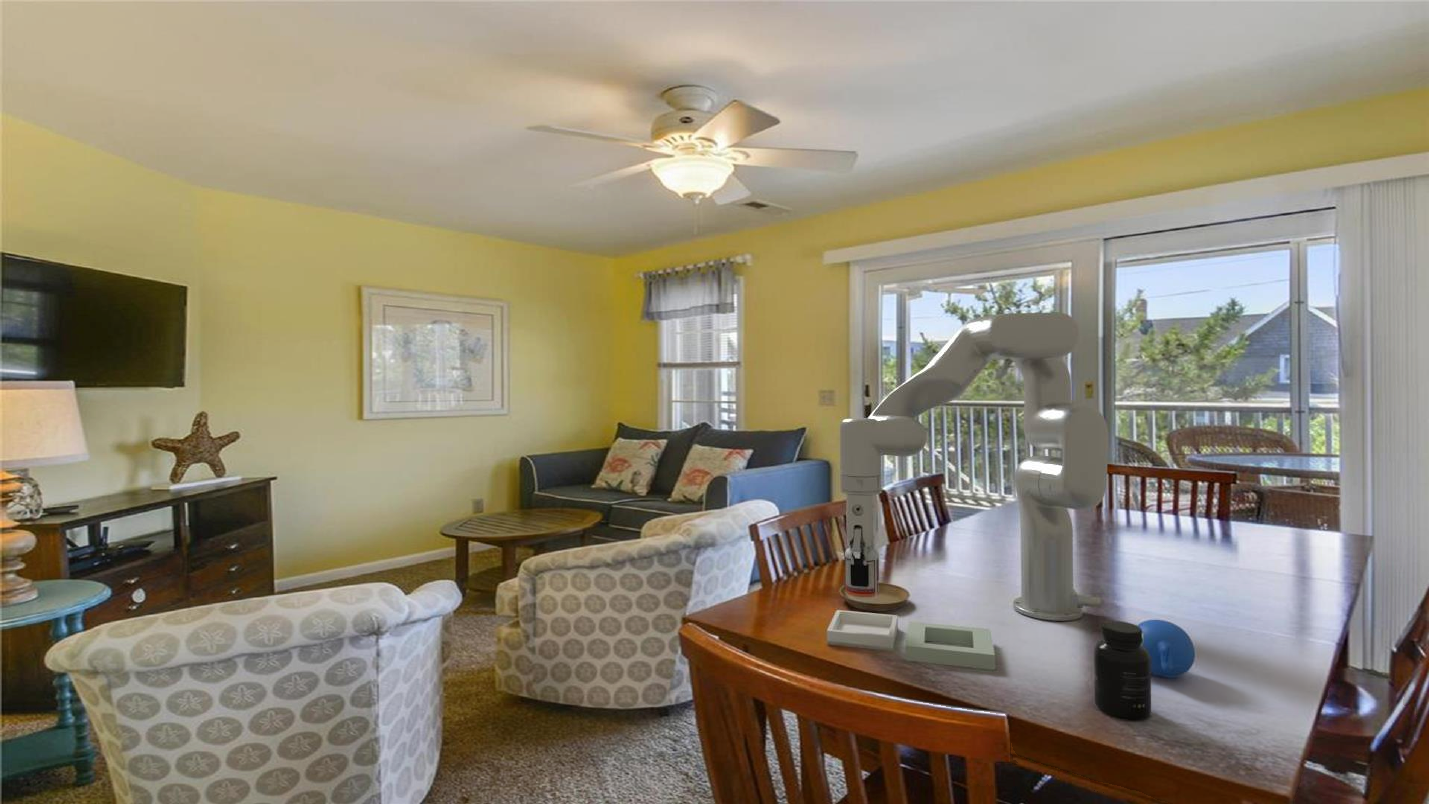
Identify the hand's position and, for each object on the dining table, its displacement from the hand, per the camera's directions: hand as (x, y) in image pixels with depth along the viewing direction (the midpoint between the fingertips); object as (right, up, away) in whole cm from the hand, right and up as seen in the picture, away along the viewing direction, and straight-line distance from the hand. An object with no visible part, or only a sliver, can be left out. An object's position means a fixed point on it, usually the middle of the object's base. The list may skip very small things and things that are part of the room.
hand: (862, 579), depth 122 cm
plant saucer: (+7, -11, +19) cm, 23 cm away
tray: (0, -11, 0) cm, 11 cm away
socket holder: (+13, -10, -8) cm, 19 cm away
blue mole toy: (+42, -10, -18) cm, 46 cm away
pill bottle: (0, -3, 0) cm, 3 cm away
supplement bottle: (+30, -11, -29) cm, 43 cm away
